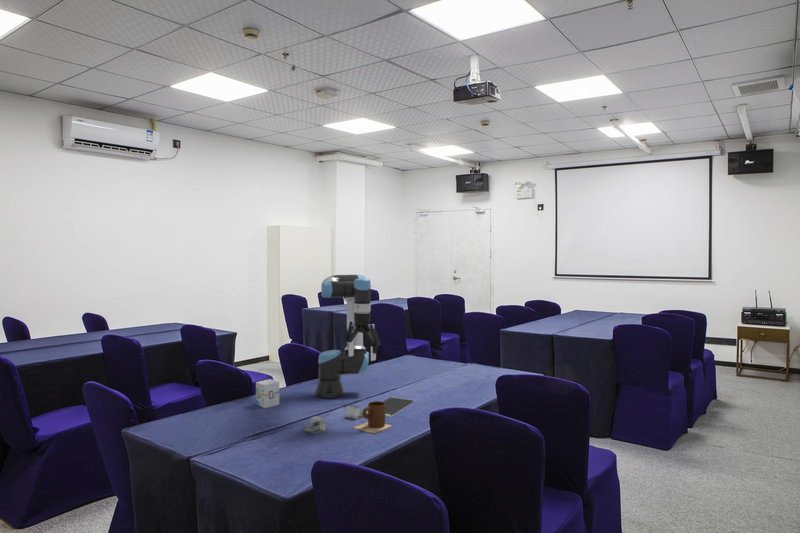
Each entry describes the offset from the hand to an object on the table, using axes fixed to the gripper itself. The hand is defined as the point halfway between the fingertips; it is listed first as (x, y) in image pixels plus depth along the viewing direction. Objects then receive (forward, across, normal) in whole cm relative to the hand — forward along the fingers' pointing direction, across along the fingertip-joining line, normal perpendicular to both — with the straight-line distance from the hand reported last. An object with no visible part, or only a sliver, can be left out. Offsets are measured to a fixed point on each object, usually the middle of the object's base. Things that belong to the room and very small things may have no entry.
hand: (362, 358), depth 232 cm
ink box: (+28, -48, -16) cm, 58 cm away
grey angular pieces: (+27, -2, -15) cm, 31 cm away
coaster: (+26, +14, -9) cm, 31 cm away
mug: (+26, +15, -9) cm, 31 cm away
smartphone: (+28, +3, +18) cm, 33 cm away
